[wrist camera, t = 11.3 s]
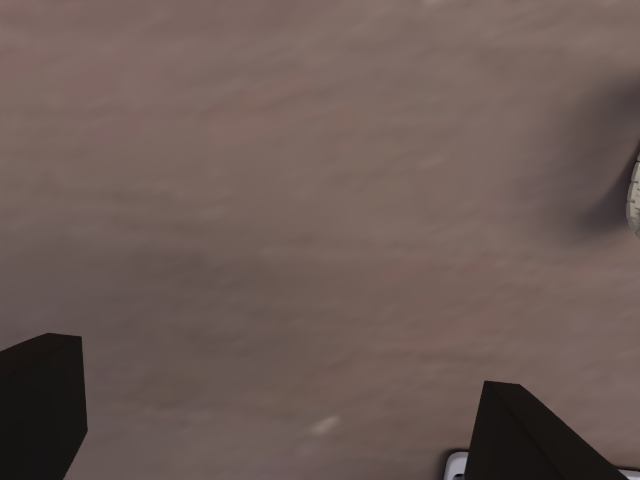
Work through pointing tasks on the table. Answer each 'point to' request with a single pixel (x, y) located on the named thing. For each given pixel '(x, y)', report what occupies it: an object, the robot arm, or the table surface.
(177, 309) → the table surface
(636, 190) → the wristwatch
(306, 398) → the table surface
